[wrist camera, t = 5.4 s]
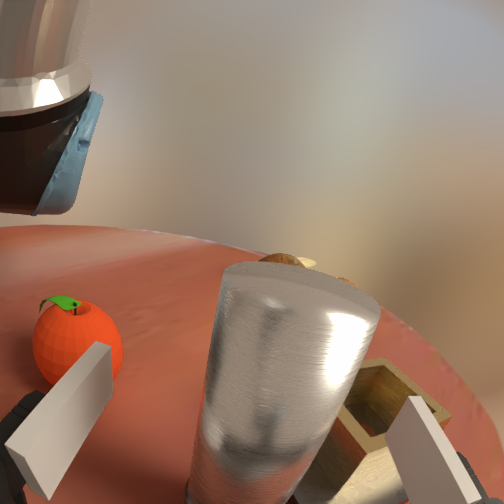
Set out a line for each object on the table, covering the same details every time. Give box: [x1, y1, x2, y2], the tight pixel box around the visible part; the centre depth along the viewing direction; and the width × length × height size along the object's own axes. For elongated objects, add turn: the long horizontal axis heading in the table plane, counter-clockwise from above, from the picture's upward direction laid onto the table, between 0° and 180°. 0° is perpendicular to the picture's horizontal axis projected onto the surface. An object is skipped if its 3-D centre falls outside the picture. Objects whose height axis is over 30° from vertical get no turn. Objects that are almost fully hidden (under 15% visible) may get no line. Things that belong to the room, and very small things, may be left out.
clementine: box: [33, 296, 123, 386], centre depth 18 cm, size 8×7×7 cm
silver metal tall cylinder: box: [184, 261, 381, 504], centre depth 10 cm, size 5×5×14 cm
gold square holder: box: [288, 357, 452, 504], centre depth 18 cm, size 14×14×5 cm
